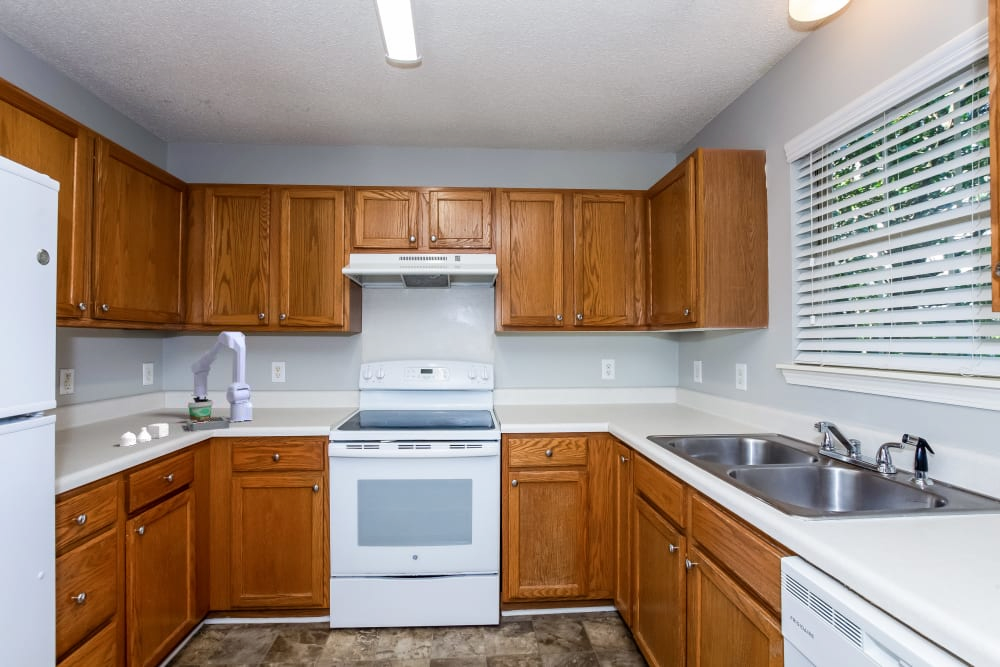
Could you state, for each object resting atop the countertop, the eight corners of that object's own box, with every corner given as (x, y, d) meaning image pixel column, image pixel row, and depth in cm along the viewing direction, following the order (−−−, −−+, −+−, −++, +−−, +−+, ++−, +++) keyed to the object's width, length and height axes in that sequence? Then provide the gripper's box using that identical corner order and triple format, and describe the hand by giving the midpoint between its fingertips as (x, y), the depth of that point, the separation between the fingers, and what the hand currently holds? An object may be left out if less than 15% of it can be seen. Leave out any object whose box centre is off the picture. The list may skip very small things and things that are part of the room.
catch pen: (223, 422, 229) (223, 416, 229) (229, 427, 216) (229, 421, 216) (186, 425, 220) (186, 419, 220) (189, 431, 207) (189, 424, 207)
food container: (198, 424, 223) (198, 403, 223) (187, 424, 224) (187, 402, 225) (219, 420, 235) (219, 399, 235) (208, 419, 237) (208, 399, 237)
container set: (156, 436, 198) (156, 423, 198) (168, 436, 197) (168, 423, 197) (115, 447, 178) (115, 432, 178) (128, 447, 177) (129, 432, 178)
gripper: (190, 384, 245) (189, 411, 245) (192, 386, 234) (192, 414, 234) (206, 383, 250) (205, 409, 249) (209, 386, 238) (209, 413, 238)
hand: (200, 412), depth 242 cm, fingers open, 7 cm apart
